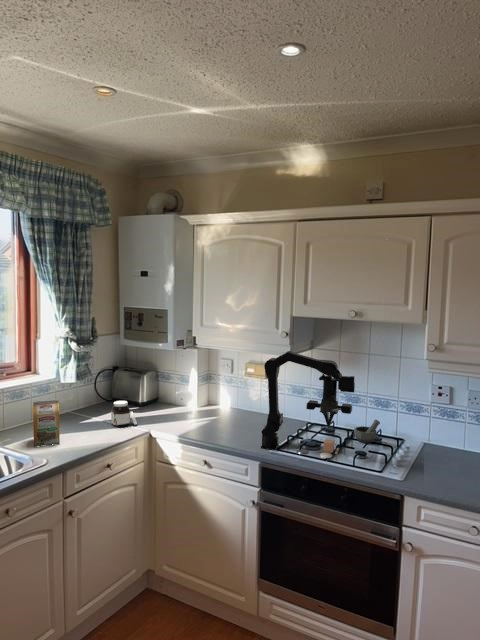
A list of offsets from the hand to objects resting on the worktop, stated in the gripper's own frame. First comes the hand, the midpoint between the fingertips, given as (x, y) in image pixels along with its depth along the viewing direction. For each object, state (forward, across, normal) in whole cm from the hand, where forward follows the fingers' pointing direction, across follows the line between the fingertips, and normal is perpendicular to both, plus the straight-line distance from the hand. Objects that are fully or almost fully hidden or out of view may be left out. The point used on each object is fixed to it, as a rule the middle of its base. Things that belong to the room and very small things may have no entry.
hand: (328, 426), depth 209 cm
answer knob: (+10, 0, 0) cm, 11 cm away
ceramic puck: (+12, 0, -6) cm, 14 cm away
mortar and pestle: (+12, +14, +18) cm, 26 cm away
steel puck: (+12, -10, -6) cm, 17 cm away
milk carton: (+12, -121, -34) cm, 126 cm away
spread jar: (+12, -103, +1) cm, 103 cm away
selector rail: (+12, -5, 0) cm, 13 cm away
